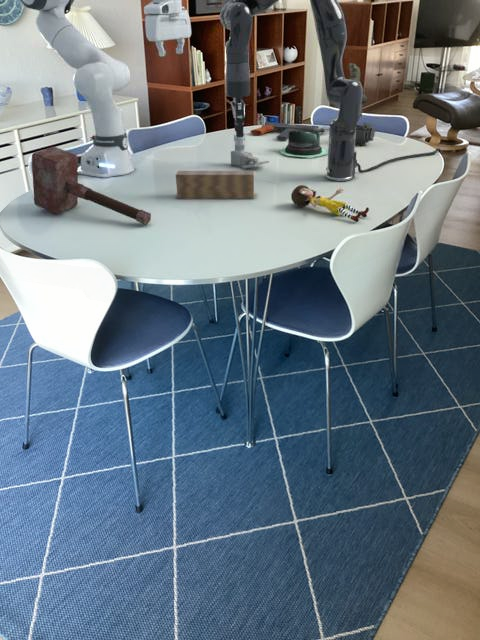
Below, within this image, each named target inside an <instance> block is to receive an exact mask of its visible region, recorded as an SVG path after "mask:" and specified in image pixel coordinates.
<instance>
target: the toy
mask: <svg viewBox="0 0 480 640" xmlns="http://www.w3.org/2000/svg"><path fill="white" fill-rule="evenodd" d="M375 133H376V129H375V127H374V126H372V123H370V122H363V124H358V125H357V127H356V138H355V145H358V146H359V145H360V146H366V144H367V143H369V142H373V140H374V138H375Z"/></svg>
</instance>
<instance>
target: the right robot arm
mask: <svg viewBox="0 0 480 640" xmlns="http://www.w3.org/2000/svg"><path fill="white" fill-rule="evenodd" d="M279 1H280V0H230V1H228V2H227V3H226V4H224V6H223V7H222V9H221V11H220V14H219V20H220V23H221V25H222V27H224V28H225V29H227V30H229V39H228V40H227V41H226V43H225V46H224V61H225V62H224V63H225V66H224V83H225V84H224V85H225V96H227V97H230V98H232V101H231V113H232V116H233V117H232V118H233V119H234V120H233V122H234V124H233V125H234V132H235V134H236V136H237V137H243V136H244V135H243V134H244V124H245V116H246V112H245V111H246V110H245V109H246V102H245V101H244V100H243V98H244V97H249V96H250V95H251V69H250V50H249V47H250V41H251V36H252V31H253V17H254V16H255V15H260V14H262V13H264V12H266V11H267V10H269V9H270V8H271V7H272V6H274V5H275V4H276V3H278V2H279ZM309 2H310V7H311V12H312V16H313V21H314V28H315V33H316V37H317V42H318V45H319V51H320V56H321V57H320V58H321V63H322V67H323V74H324V84H325V85H324V87H325V93H326V98H327V102H328V103H329V104H330V106H332V107H335V108H338V109H339V110H338V115H337V117H336V118H332V119H331V120H330V121H329V132H328V146H327V147H328V148H327V166H325V171H326V176H325V177H326V179H328V180H330V181H333V182H348V181H351V180H353V179H354V178H355V175H356V168H357V171H358V172H359V173H367V172H370V171H373V170H376V169H379V168H380V167H381V166H384V165H387V164H389V163H392V162H396V161H401V160H405V159H411V158H417V157H424V156H432V155H435V154H436V153H437V152H439V153H441V152H442V149H441V148H440V147H437V148H436V149H435V150H433V151H431V152H423V153H415V154H409V155H402V156H398V157H394V158H390V159H387V160H385V161H381V162H380V163H378V164H376V165H374V166H371V167H368V168H365V169H362V166H361V164H360V163H359V162H358V160H357V150H355V148H356V144H355V138H356V127H357V124H358V123H359V121H360V118H361V116H360V110H361V103H362V87H363V86H362V87H361V85H360V83H359V82H357V81H354V80H350V78H346V77H345V74H344V68H343V56H344V53H345V49H346V45H347V40H348V34H347V33H348V32H347V25H346V20H345V15H344V12H343V9H342V7H341V5H340V3H339V1H338V0H309Z"/></svg>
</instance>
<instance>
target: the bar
mask: <svg viewBox="0 0 480 640" xmlns="http://www.w3.org/2000/svg"><path fill="white" fill-rule="evenodd" d="M175 183H176V184H175V185H176V196H177V200H178V199H181V200H183V199H184V200H187V199H188V200H189V199H191V200H192V199H193V200H195V199H197V200H198V199H199V200H200V199H201V200H208V199H209V200H220V199H221V200H227V199H228V200H254V199H255V170H177V172H176V174H175Z"/></svg>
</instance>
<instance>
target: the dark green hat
mask: <svg viewBox="0 0 480 640" xmlns="http://www.w3.org/2000/svg"><path fill="white" fill-rule="evenodd" d="M320 133H321V132H319V131H318V130H316V129H311V128H298V129H294V130H291V131H289V137H288V139H287V140H288V141H287V142H288V143H287V145H286V146H285V147H283V148H281V149H280V150H279V153H280V154H282V155H285V156H289V157H296V158H297V157H298V158H307V159H309V158H310V159H311V158H313V159H314V158H317V157H323V156H326V155H327V154H328V149H327V150H326V149H325V148H322V146H321V144H320V142H321V135H320Z"/></svg>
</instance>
